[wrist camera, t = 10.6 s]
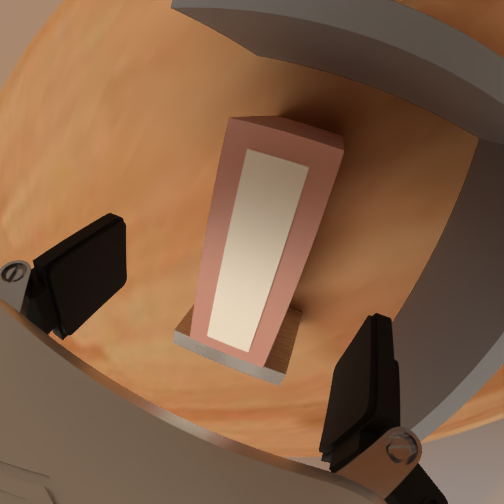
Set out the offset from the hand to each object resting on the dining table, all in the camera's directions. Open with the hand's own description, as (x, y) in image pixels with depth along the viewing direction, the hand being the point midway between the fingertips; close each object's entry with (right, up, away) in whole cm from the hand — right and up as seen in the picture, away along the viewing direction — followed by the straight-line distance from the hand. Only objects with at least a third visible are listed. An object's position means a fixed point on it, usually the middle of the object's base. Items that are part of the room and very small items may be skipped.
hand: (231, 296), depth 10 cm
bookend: (0, -4, +16) cm, 17 cm away
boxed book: (+3, +5, +11) cm, 12 cm away
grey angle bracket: (+7, +4, +10) cm, 13 cm away
